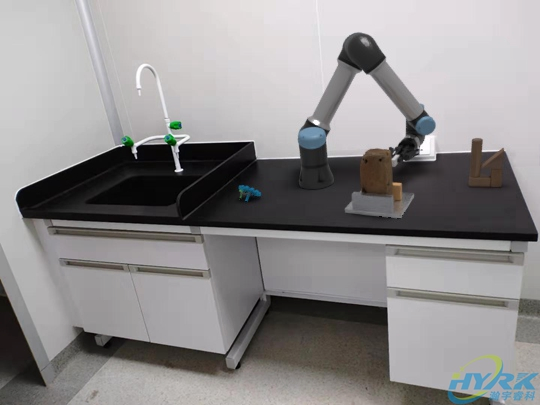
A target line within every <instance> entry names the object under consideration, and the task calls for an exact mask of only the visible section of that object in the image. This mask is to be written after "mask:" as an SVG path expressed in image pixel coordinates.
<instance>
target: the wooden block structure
mask: <svg viewBox="0 0 540 405" xmlns="http://www.w3.org/2000/svg"><path fill="white" fill-rule="evenodd" d="M483 141H484V139H483V138H481V137H475V138H472V139H471V149H470V165H469V168H470V169H469V175H468V187H479V188H480V187H481V188H482V187H486V188H487V187H488V188H489V187H491V188H501V187H502V183H503V182H502V181H503V169H504V158H505V149H504V148H505V147H502V148H501V149H499V150H498V151H497V152H496V153H495V154H493V155H492V156H490V157H489V158H488V159H487V160H486V161H484V162H483V163H482V159H483V158H482V157H483ZM481 170H490V174H489V175H486V174H482V172H481Z"/></svg>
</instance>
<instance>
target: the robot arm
mask: <svg viewBox="0 0 540 405" xmlns="http://www.w3.org/2000/svg"><path fill="white" fill-rule="evenodd" d="M341 47H342V48H341V50H340V52H339V55H338V57H337V58H336V61H337V66H336V68H335V70H334V72H333V75H332V76H331V78H330V80H329V82H328V84H327V86H326V87H325V89H324V92H323V94H322V95H321V98H320V100H319V102H318V104H317V106H316V108H314V109H315V110H314V112H313V114H312V115H311V116H308V117H307V118H306V119H305V122H304V124H303V125H302V126H301V127H300V129H299V131H298V134H297V143H298V148H299V157H300V158H299V159H300V164H301V165H300V173H299V177H298V185H299V186H300V188H303V189H306V190H318V189H319V190H320V189H324V188H327V187H330V186H331V185H333V184H334V182H335V180H334V178H335V177H334V174H333V173H332V170H331V168H330V166H329V158H328V147H327V137H328V136H329V134H330V132H331V125H330V124H331V123H332V120H333V118H334V117H335V115H336V113H337V111H338V109H339V107H340V105H341V103H342V102H343V101H344V100H343V99H344V98H345V96H346V94H347V93H348V90H349V88H350V86H351V84H352V82H353V81H354V79H355V77H356V75H357V74H360V73H361V72H363V73H365V74H366V75H370V77H371V78H372V79H373V80H374V82H375V83H376V84H377V85H378V86H379V88H380V89H381V90H382V91H383V93H385V95H386V97H388V98H389V100H390V101H391V102H392V103H393V105H395V107H396V108H397V109H398V110H399V111H400V113H401V115H403V117H404V118H405V136H404V137H403V138H402V139H401V140H400V141H399V143H398V145H397V146H395V147H392V146H389V147H388V150H390V151H391V156H392V168H395V167H396V166H397V165H398V163H401V162H403V161H405V162H408V161H410V160H412V159H413V158H414V157H416V156H420V155H421V154H420V152H421V149H420V146H422V145H423V143H424V142H425V139H426V136H428V135H431V134H432V133H433V132H434V131H435V129H436V127H437V124H436V121H435V119H434V118H433V117H432V116H431V115H429V113H428V112H427V111H426V109H425V105H424V104H423V103H420V102H419V101H418V99H417V98H416V97H415V96H414V95H413V93H412V92H411V91H410V89H409V88H408V87H407V86H406V85H405V83H404V82H403V81H402V79H401V78H400V77H399V76H398V75H397V73H396V72H395V71H394V69H393V68H392V67H391V66H390V64H389V63H388V62H387V56H386V55H385V54H384V53H383V51H382V49H381V48H380V46H379V45H378V42H376V40H375V38H373V37H372V36H371V35H369V34H368V33H363V32H359V31H358V32H354V33H351V34H349V35H348V36H347V37H346V38H345V39H344V40H343V44H342V46H341Z"/></svg>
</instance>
